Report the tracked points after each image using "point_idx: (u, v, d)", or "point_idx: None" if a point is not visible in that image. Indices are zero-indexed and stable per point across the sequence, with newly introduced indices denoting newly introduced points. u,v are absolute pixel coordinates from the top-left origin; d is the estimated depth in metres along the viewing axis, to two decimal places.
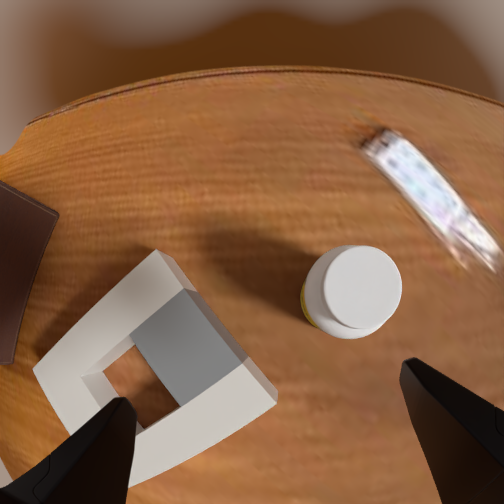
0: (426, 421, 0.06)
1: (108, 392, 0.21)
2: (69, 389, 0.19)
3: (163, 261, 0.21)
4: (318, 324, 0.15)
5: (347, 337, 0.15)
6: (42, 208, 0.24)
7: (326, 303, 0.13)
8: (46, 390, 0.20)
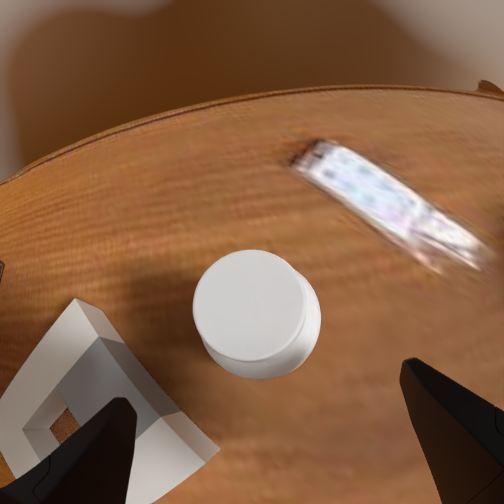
0: (426, 421, 0.06)
1: (53, 448, 0.15)
2: (15, 442, 0.14)
3: (80, 310, 0.17)
4: (218, 363, 0.12)
5: (257, 377, 0.11)
6: None
7: (198, 330, 0.10)
8: None
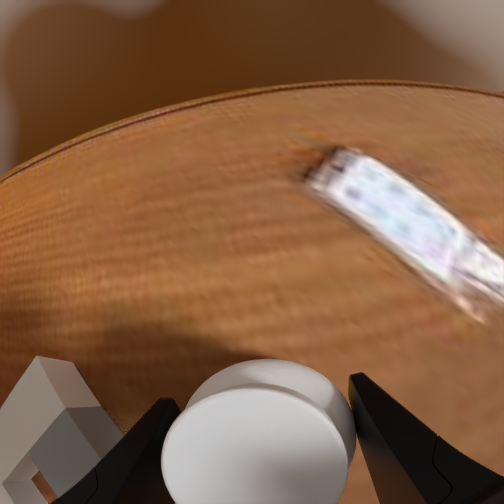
0: (367, 440, 0.06)
1: (36, 502, 0.10)
2: None
3: (43, 371, 0.12)
4: None
5: None
6: None
7: (174, 497, 0.05)
8: None
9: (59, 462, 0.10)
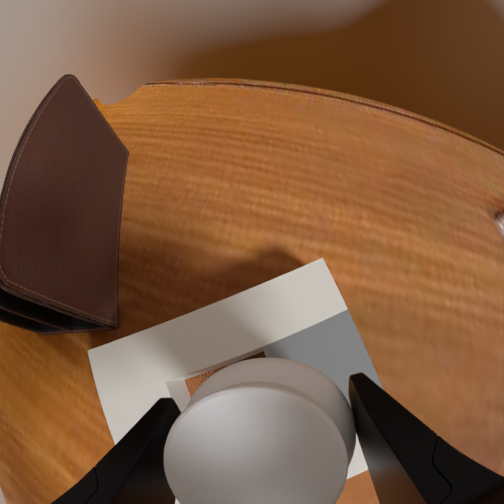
0: (367, 440, 0.06)
1: None
2: (140, 392, 0.17)
3: (329, 273, 0.18)
4: None
5: None
6: (117, 138, 0.27)
7: (176, 495, 0.05)
8: (100, 382, 0.17)
9: (313, 359, 0.16)
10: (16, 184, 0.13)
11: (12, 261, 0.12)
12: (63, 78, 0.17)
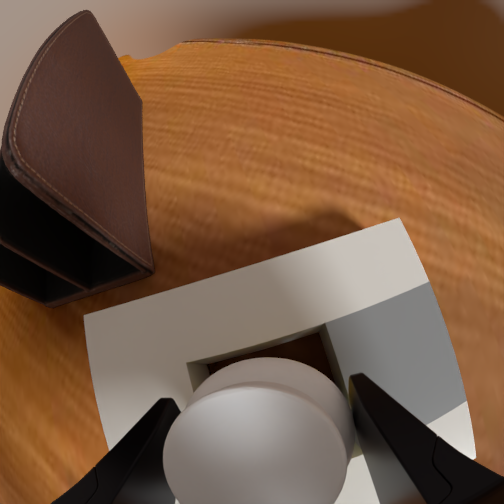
0: (367, 440, 0.06)
1: None
2: (148, 376, 0.13)
3: (407, 237, 0.13)
4: None
5: None
6: (131, 84, 0.24)
7: (176, 494, 0.05)
8: (95, 358, 0.13)
9: (389, 342, 0.12)
10: (43, 71, 0.09)
11: (31, 141, 0.08)
12: (83, 11, 0.14)
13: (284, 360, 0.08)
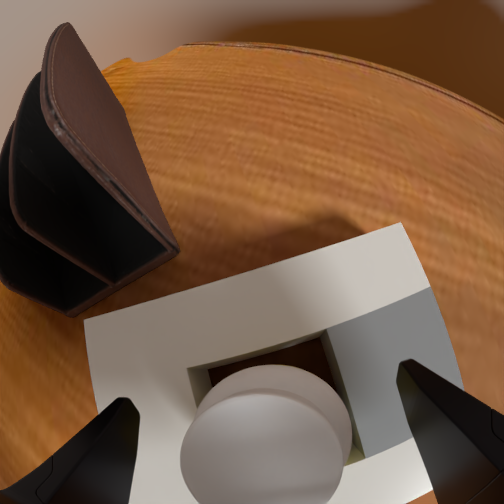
0: (422, 422, 0.06)
1: None
2: (148, 381, 0.12)
3: (409, 241, 0.13)
4: None
5: None
6: (113, 93, 0.24)
7: (191, 491, 0.05)
8: (95, 363, 0.13)
9: (390, 348, 0.12)
10: (58, 59, 0.10)
11: (66, 109, 0.09)
12: (66, 23, 0.14)
13: (287, 368, 0.09)
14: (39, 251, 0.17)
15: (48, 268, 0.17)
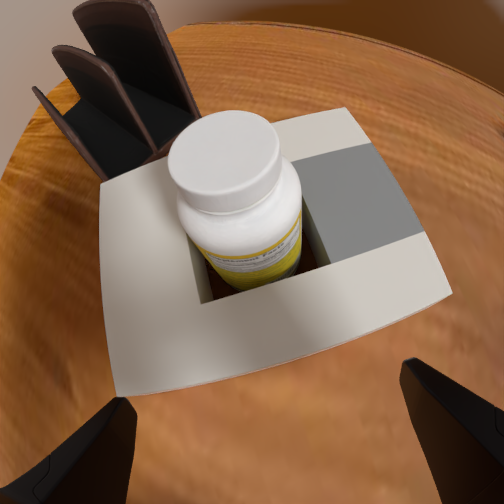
0: (426, 421, 0.06)
1: None
2: (148, 211, 0.17)
3: (352, 117, 0.18)
4: (192, 236, 0.11)
5: (233, 246, 0.11)
6: None
7: (171, 175, 0.10)
8: (105, 210, 0.17)
9: (340, 176, 0.16)
10: None
11: None
12: None
13: None
14: None
15: None
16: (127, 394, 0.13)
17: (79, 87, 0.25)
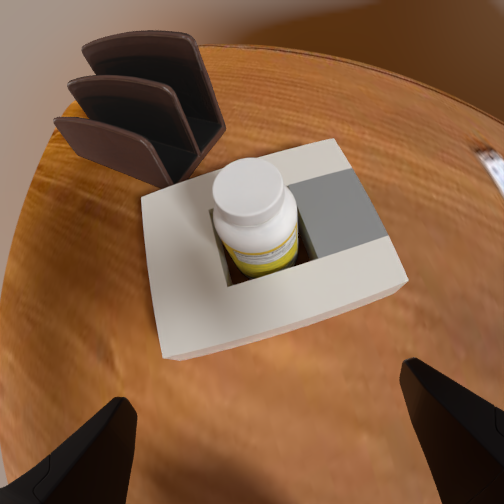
0: (426, 421, 0.06)
1: (220, 245, 0.24)
2: (184, 220, 0.23)
3: (338, 147, 0.24)
4: (226, 240, 0.18)
5: (253, 246, 0.17)
6: None
7: (215, 202, 0.16)
8: (147, 218, 0.23)
9: (326, 195, 0.22)
10: None
11: None
12: (87, 44, 0.25)
13: None
14: None
15: None
16: (171, 355, 0.19)
17: (100, 115, 0.31)
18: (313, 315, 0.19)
